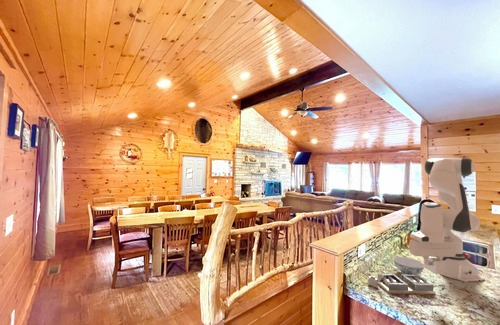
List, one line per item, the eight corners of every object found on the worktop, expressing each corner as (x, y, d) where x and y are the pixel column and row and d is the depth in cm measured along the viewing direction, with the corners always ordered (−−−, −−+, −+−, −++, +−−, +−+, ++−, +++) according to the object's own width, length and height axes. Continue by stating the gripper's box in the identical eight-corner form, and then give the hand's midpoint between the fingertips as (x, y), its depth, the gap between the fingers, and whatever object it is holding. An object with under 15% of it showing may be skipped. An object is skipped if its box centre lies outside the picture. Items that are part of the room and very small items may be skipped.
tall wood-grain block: (429, 267, 107) (429, 255, 107) (441, 274, 100) (441, 261, 100) (423, 267, 107) (423, 255, 107) (435, 274, 100) (435, 261, 100)
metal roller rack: (419, 283, 119) (419, 274, 119) (435, 294, 108) (435, 285, 108) (376, 281, 119) (376, 273, 119) (388, 292, 109) (388, 284, 109)
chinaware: (387, 270, 133) (387, 258, 133) (403, 267, 138) (403, 255, 138) (413, 283, 119) (413, 269, 119) (430, 278, 124) (430, 265, 124)
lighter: (368, 285, 116) (368, 270, 116) (369, 283, 117) (369, 269, 117) (383, 290, 111) (383, 274, 111) (384, 289, 112) (384, 273, 112)
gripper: (447, 234, 107) (447, 262, 106) (406, 234, 107) (406, 261, 107) (459, 238, 100) (460, 268, 100) (416, 238, 101) (416, 267, 100)
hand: (432, 265), depth 103 cm, fingers closed on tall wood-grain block, 3 cm apart
